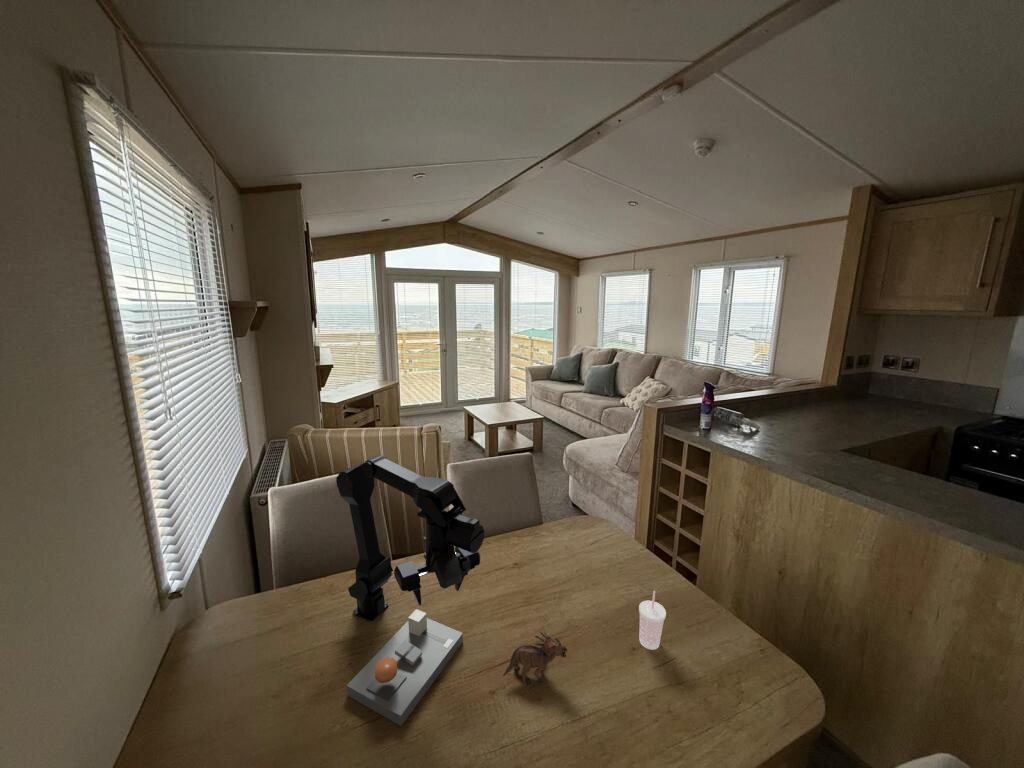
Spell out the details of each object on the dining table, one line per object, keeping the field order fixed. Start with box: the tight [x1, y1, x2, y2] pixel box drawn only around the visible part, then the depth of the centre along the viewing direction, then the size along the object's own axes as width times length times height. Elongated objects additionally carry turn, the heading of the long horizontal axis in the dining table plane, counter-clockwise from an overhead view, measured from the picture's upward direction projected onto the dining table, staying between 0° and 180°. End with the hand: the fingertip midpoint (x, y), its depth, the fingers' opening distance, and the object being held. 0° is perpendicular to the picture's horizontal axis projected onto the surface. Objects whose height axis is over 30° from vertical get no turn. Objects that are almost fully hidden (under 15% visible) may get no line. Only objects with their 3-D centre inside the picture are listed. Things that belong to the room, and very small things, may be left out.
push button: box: [374, 657, 397, 683], centre depth 85 cm, size 4×4×3 cm
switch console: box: [346, 617, 464, 727], centre depth 92 cm, size 14×22×3 cm, turn 154°
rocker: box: [395, 640, 423, 666], centre depth 92 cm, size 5×3×1 cm, turn 65°
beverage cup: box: [638, 590, 667, 651], centre depth 98 cm, size 6×6×14 cm
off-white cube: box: [407, 608, 428, 636], centre depth 99 cm, size 3×3×4 cm
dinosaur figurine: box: [502, 631, 568, 686], centre depth 91 cm, size 14×6×9 cm, turn 99°
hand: (438, 596), depth 96 cm, fingers open, 9 cm apart
